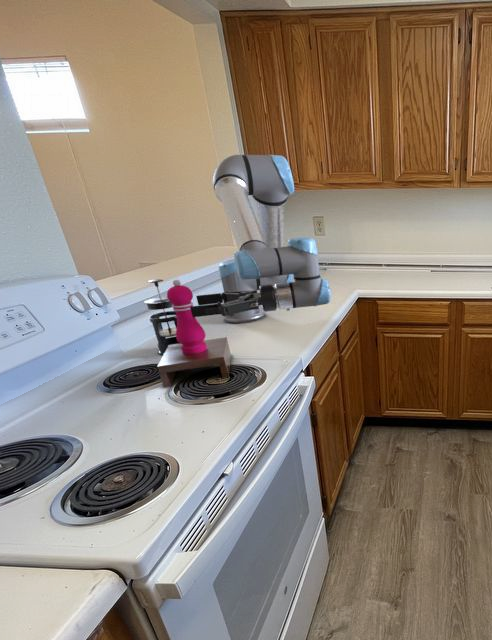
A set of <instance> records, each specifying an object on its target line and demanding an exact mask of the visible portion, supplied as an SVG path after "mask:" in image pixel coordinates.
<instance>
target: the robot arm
mask: <svg viewBox="0 0 492 640" xmlns="http://www.w3.org/2000/svg"><path fill="white" fill-rule="evenodd" d="M212 187H213V191H214V194H215V197H216V198H217V199H218V201H220V202H221V204H222V206H223V209H224V212H225V215H226V217H227V220H228V223H229V226H230V229H231V232H232V235H233V238H234V240H235V243H236V246H237V250H238V251H235V252H234V254H233V258H231V259H227V260H224V261H222V262H221V263H219V265H218V271H219V278H220V281H221V284H222V290H223V292H220V293H219V292H218V293H209V294H198V295H196V301H197V304H198V305H193V306H191V307H190V309H191V313H192V316H193V317H195V318H200V317H208V316H216V315H217V316H218V315H220V316H222V317H223V318H224V320H225V322H226V323H230V324H244V323H251V322H256V321H259V320H261V319H263V318H265V317H266V312H267V313H268V312H275V311H277V309H278V310H280V311H281V310H286V311H287V312H288V311H290V309H299V308H308V307H319V306H324V305H328V304H329V303H330V302H331V291H330V290H331V289H330V284H329V281H328V280H327V278H322V277H321V273H320V264H319V253H318V249H317V245H316V244H317V243H316V241H315V239H314V238H312V237H295V238H290V239H288V240H287V241H288V243H287V246H285V226H284V225H285V223H284V221H285V220H284V219H285V218H284V217H285V215H284V213H285V212H284V211H285V210H284V205H286V204H287V202H288V200H289V195H293V194H294V193H295V184H294V178H293V174H292V169H291V167H290V164H289V162H288V160H287V159H286V158H285V156H283V155H281V154H280V155H279V154H278V155H276V154H232V155H230V156H227V157H225V158H224V159H223V160H222V161H221V162H220V163H219V164H218V165H217V166H216V168H215V171H214V172H213V177H212ZM249 196H251V198H252V199H253V200H254V201H255V202H256V204H257V217H256V214H255V212H254V210H253V207H252V204H251V201H250V198H249ZM293 280H294V281H293ZM258 291H259V292H258Z"/></svg>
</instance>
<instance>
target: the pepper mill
mask: <svg viewBox="0 0 492 640" xmlns="http://www.w3.org/2000/svg"><path fill="white" fill-rule="evenodd" d="M172 285H173V286H171V287H169V289H168V290H167V292H166V296H167V297H168V300H169V301H170V302H171V303H173V305H172V307H171V308H172V311H175V312H176V314H177V329H176V336H175V337H176V338H177V341H178V342H179V343H181V344H182V346H181V349H182V352H183V353H184V354H197V353H201V352H203V351H205V350H206V349H207V346H206V343H205V342H203V340H206V332H205V330H204V327H203V326H202V325H201V324H200V322H199V321H198V320H197V317H193V316H192V313H191V309H190V307H191V306H194V305H193V304H194V303H193V302H192V300H193V298H194V293H193V292H192V290H191V288H189V287H188V286H186V285H182V282H181V281H180V280H179V279H174V280H173V281H172Z"/></svg>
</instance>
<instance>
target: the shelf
mask: <svg viewBox="0 0 492 640" xmlns="http://www.w3.org/2000/svg"><path fill="white" fill-rule="evenodd" d="M203 342H205V343H206V346H207V349H206V350H205V351H203V352H201V353H197V354H184V353H183V352H182V349H181V346H182V344H173V345H168V347H167V349H166V351H165V353H164V355H162V357H161V359H160V360H159V362H158V364H157V366H156V368H157V371H158V374H159V377H160V380H161V382H162V387H163V388H168V387H171V386H172V383H173V381H174V378H175V376H176V373H177V372H179V371H185V370H193V369H199V368H205V367H211V366H212V367H213V366H217V365H218V366H219V369H220V374H221V378H222V379H225V378H229V376H230V368H231V359H232V353H231V349H230V345H229V341H228V337H220V338H219V337H218V338H211V339H204V340H203ZM228 366H229V368H228ZM227 373H228V374H227Z"/></svg>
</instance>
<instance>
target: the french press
mask: <svg viewBox="0 0 492 640" xmlns="http://www.w3.org/2000/svg"><path fill="white" fill-rule="evenodd" d="M162 282H164V279H160V278H156V279H151V280H148V281H147V283H148V284H153V285H154V286H155V288H156V290H157V293H158V297H153V298H149V299H146V300H144V304H146V306H147V309H148V310H149V311H150V310H153V311H156V310H157V311H158V310H162V311H160V312H157V313H154V314H151V315H149V318H148V319H149V321H150V323H151V324H152V327H153V330H154V334H155V337H156V340H157V342H156V343H157V347H158V350H159V351H158V353H159V355H161V356H163V355H164V353H165V351H166V349H167V347H168V345H173V344H181V343H179V342H178V341H177V338H176V329H177V314H176V312H175V311H174V310H169V311H166V309H171V308H173V307H172V305H173V303H171V302H170V301H169V300H168V297H167V295H166V296H161V293H160V292H161V291H160V288H159V283H162ZM167 316H168V317H167ZM169 316H170V317H169ZM161 317H163V318H161ZM170 322H174V325H175V327H170ZM162 323H163V324H164V323H166V324H167V328H164V327H163V324H162Z"/></svg>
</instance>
